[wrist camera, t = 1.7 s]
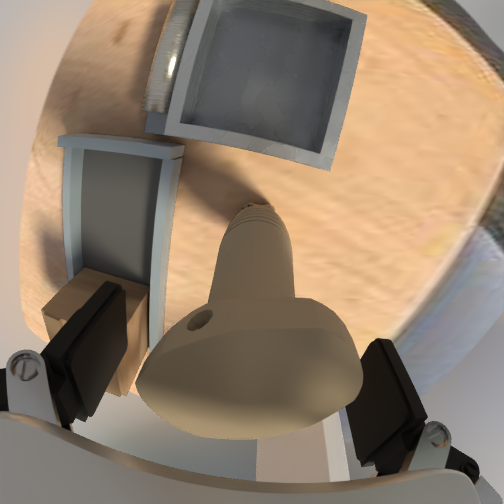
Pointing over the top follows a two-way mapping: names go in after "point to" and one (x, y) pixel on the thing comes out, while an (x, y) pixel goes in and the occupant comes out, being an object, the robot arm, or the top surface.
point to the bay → (121, 211)
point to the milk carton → (304, 455)
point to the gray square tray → (256, 75)
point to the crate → (136, 315)
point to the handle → (252, 346)
